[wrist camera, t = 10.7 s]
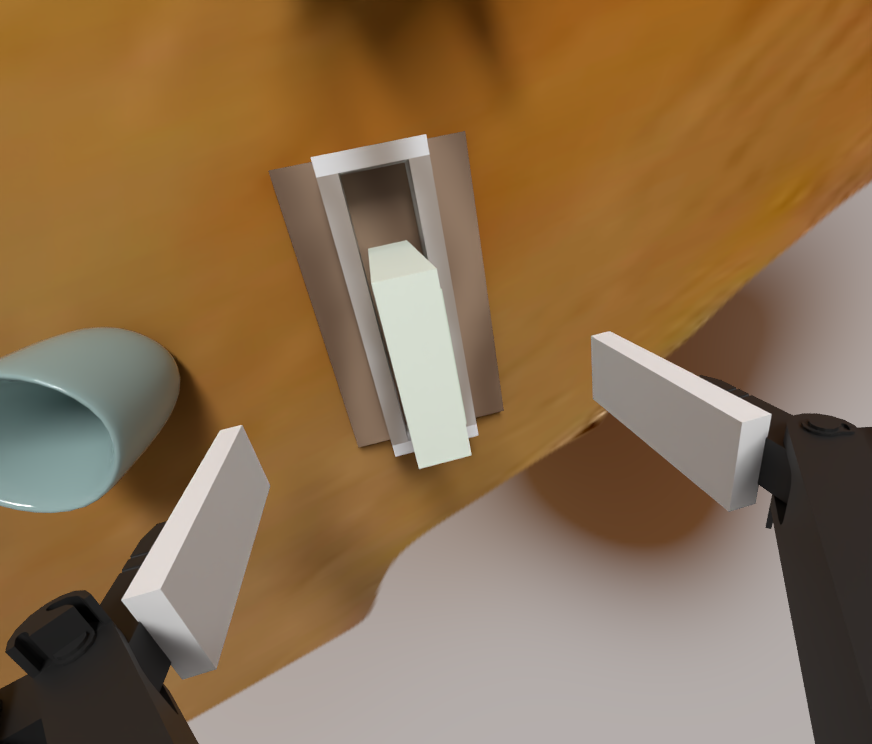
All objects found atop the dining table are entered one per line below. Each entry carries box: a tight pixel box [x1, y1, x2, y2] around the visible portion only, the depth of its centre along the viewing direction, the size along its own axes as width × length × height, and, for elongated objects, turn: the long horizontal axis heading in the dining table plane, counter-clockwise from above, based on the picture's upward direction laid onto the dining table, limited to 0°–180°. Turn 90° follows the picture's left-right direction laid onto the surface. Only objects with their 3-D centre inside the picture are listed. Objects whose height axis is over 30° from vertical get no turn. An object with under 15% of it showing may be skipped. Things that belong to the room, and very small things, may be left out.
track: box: [269, 131, 504, 457], centre depth 28 cm, size 12×20×4 cm, turn 11°
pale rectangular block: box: [368, 240, 471, 469], centre depth 23 cm, size 3×9×12 cm, turn 11°
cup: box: [0, 327, 181, 513], centre depth 24 cm, size 8×8×10 cm
